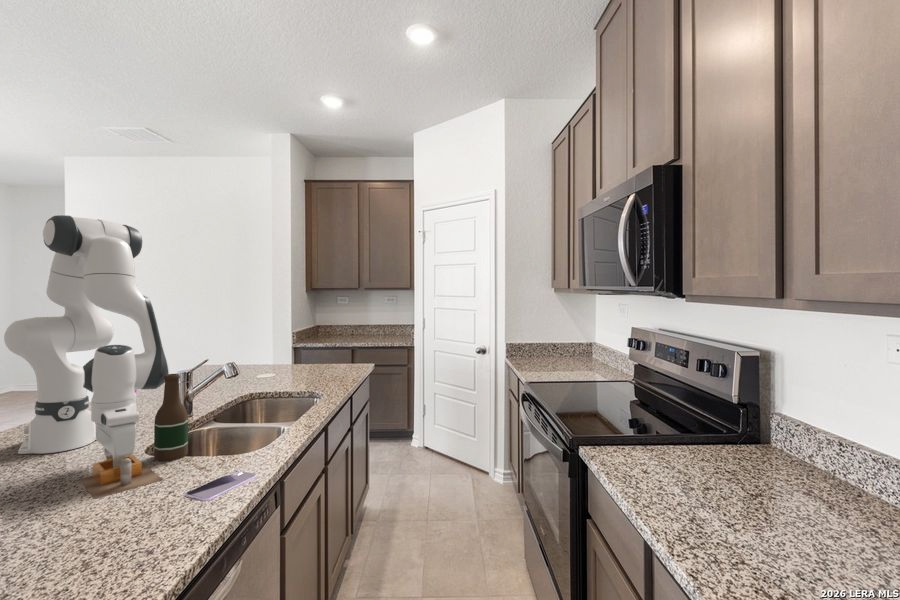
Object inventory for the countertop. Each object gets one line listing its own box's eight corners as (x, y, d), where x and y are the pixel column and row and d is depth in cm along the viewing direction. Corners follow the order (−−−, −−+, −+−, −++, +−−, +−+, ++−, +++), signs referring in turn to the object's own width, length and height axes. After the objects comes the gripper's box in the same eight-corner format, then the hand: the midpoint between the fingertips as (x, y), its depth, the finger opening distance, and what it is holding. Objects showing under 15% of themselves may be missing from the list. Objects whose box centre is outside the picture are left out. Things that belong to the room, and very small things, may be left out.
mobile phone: (182, 493, 98) (236, 468, 112) (182, 497, 98) (236, 472, 112) (207, 499, 95) (259, 473, 109) (206, 503, 95) (259, 477, 109)
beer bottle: (171, 468, 113) (172, 377, 113) (146, 465, 114) (147, 376, 114) (194, 457, 121) (195, 372, 120) (171, 455, 122) (171, 371, 122)
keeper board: (78, 484, 102) (78, 453, 102) (143, 468, 112) (143, 440, 112) (94, 505, 92) (94, 471, 92) (163, 486, 102) (164, 454, 102)
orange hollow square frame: (92, 475, 104) (92, 463, 104) (132, 466, 110) (132, 454, 110) (100, 485, 99) (100, 472, 99) (141, 474, 105) (141, 462, 105)
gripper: (88, 406, 111) (87, 459, 111) (108, 421, 98) (108, 481, 98) (118, 401, 116) (117, 452, 116) (141, 415, 103) (141, 472, 103)
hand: (113, 465), depth 107 cm, fingers open, 5 cm apart
